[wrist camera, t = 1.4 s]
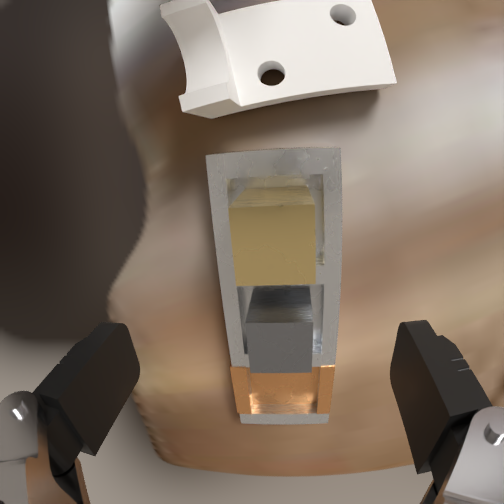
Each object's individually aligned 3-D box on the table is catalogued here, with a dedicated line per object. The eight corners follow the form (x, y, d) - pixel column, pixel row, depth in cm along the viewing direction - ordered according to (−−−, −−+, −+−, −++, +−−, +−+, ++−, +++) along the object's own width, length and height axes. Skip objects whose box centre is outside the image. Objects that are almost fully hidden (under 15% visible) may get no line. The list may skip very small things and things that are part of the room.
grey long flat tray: (211, 153, 23) (202, 155, 20) (334, 146, 21) (340, 147, 19) (242, 406, 32) (239, 423, 29) (326, 406, 30) (327, 423, 28)
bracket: (214, 119, 22) (182, 111, 15) (195, 39, 20) (159, 5, 13) (381, 90, 20) (420, 72, 13) (358, 10, 17) (382, -33, 10)
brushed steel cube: (253, 289, 25) (244, 323, 20) (309, 287, 24) (313, 321, 20) (257, 335, 27) (250, 373, 22) (309, 334, 26) (311, 372, 21)
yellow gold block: (244, 189, 22) (228, 208, 16) (307, 186, 22) (314, 204, 16) (249, 247, 24) (235, 285, 18) (309, 245, 23) (315, 284, 17)
